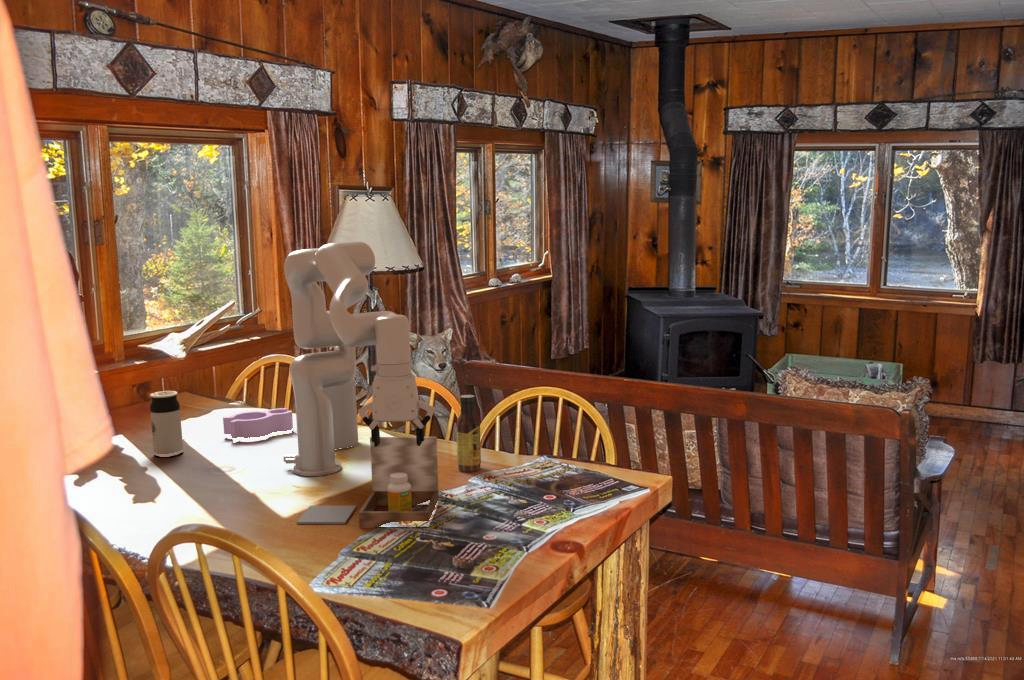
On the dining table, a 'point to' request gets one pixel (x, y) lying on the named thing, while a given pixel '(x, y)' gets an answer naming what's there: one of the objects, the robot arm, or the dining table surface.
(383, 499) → the open wooden keepsake box
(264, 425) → the lilac molded tray
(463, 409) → the sauce bottle
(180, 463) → the dining table surface
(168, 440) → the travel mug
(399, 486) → the supplement bottle
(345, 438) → the cylinder vase
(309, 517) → the slate mat
